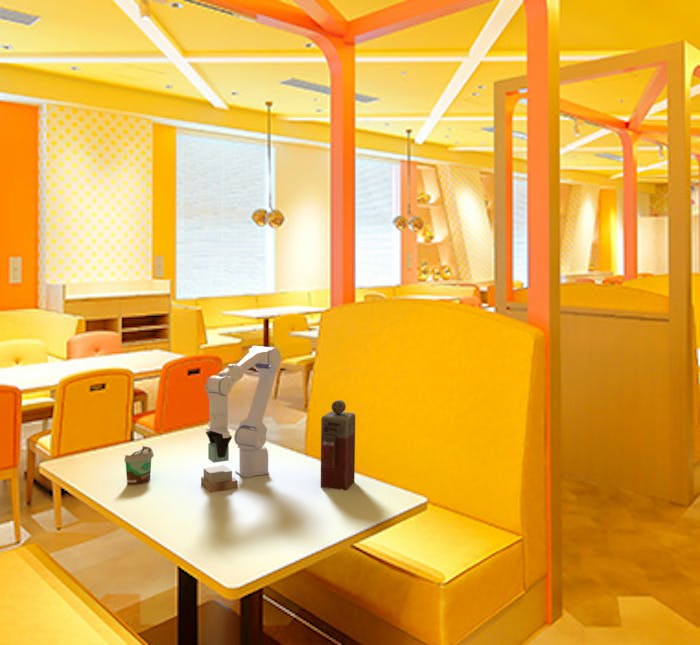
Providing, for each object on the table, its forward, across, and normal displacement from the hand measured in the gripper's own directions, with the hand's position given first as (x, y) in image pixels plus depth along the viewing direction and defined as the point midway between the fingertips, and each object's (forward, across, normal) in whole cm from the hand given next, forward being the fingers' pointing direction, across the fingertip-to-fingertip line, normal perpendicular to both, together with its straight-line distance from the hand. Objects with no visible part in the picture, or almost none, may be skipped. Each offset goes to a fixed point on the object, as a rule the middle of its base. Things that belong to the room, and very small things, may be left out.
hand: (218, 454), depth 218 cm
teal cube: (+2, 0, 0) cm, 2 cm away
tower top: (+8, 0, 0) cm, 8 cm away
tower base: (+11, 0, 0) cm, 11 cm away
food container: (+11, -17, -20) cm, 28 cm away
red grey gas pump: (+11, +17, +34) cm, 39 cm away
